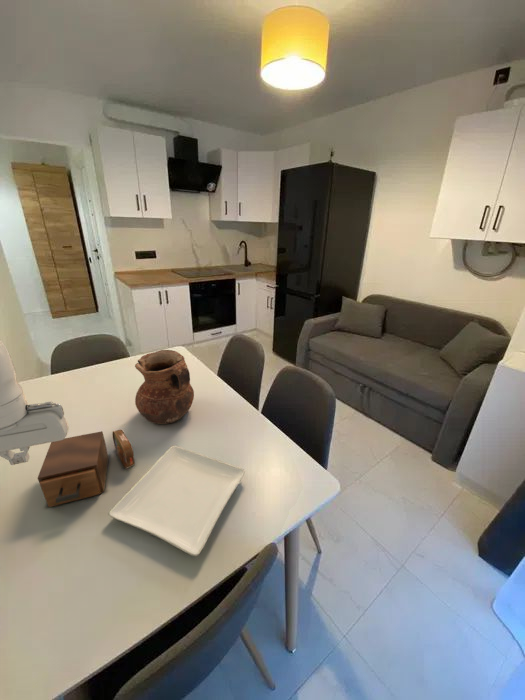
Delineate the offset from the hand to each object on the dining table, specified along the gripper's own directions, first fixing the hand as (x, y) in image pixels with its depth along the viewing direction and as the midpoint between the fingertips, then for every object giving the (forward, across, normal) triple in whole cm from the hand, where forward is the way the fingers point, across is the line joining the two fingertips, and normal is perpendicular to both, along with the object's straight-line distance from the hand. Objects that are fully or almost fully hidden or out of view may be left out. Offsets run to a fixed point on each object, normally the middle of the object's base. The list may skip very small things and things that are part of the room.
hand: (20, 461), depth 64 cm
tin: (+23, -17, -20) cm, 35 cm away
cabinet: (+23, -5, -15) cm, 28 cm away
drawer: (+22, -5, -11) cm, 25 cm away
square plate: (+23, -33, +2) cm, 40 cm away
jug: (+23, -32, -40) cm, 56 cm away
